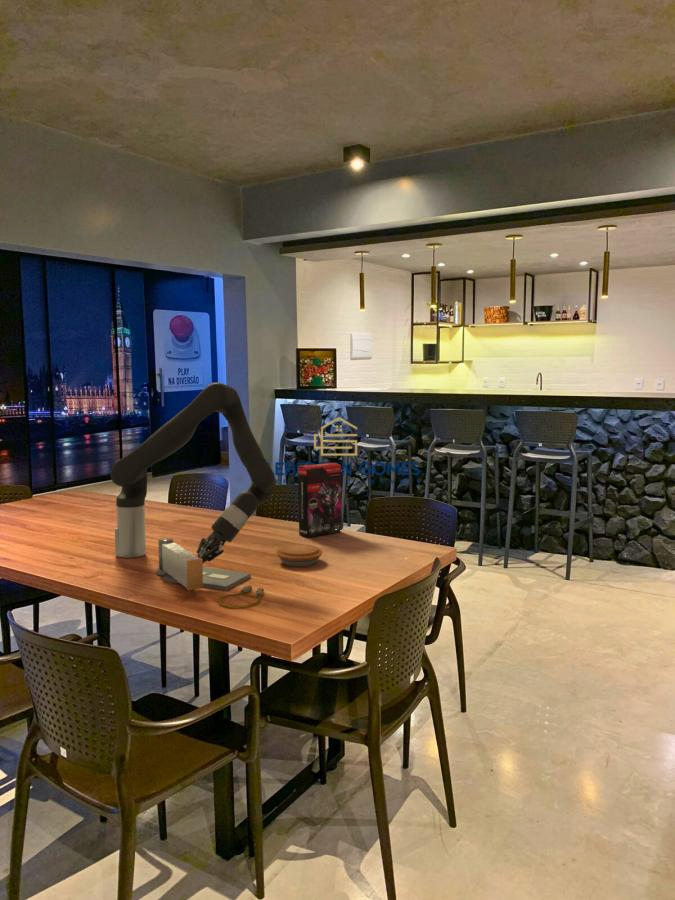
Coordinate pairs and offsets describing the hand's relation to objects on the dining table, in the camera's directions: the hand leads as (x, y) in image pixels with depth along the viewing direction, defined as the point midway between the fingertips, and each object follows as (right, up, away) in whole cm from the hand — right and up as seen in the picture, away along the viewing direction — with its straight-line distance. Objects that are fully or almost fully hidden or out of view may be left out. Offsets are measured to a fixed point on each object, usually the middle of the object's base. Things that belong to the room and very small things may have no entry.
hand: (193, 569), depth 200 cm
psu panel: (0, -4, +8) cm, 9 cm away
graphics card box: (+36, +2, +66) cm, 75 cm away
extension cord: (+16, -7, -11) cm, 21 cm away
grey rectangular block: (-5, -3, +3) cm, 7 cm away
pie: (+30, -3, +27) cm, 40 cm away
